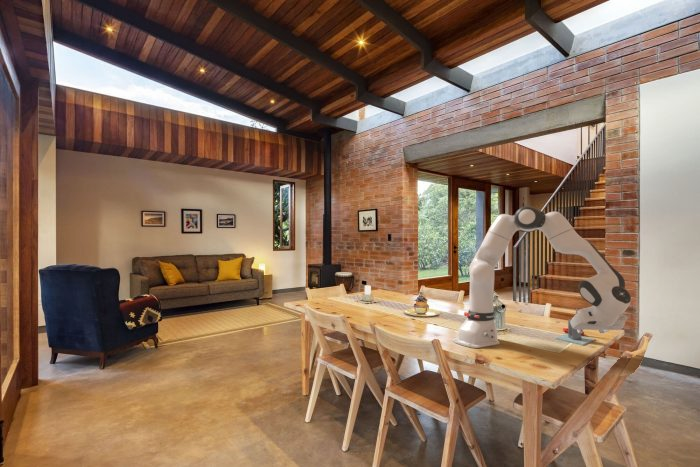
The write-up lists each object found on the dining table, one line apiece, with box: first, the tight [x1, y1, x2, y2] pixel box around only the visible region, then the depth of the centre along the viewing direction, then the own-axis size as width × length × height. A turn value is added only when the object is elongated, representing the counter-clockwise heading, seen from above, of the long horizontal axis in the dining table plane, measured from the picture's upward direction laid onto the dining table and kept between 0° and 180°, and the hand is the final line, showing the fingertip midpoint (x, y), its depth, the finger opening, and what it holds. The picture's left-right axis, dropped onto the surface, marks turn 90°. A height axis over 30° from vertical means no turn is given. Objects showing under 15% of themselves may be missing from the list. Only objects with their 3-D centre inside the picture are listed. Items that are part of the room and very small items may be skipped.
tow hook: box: [562, 308, 585, 335], centre depth 180 cm, size 8×13×9 cm
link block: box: [567, 318, 582, 340], centre depth 168 cm, size 4×4×9 cm
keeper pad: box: [555, 332, 596, 346], centre depth 168 cm, size 13×12×1 cm
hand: (590, 331), depth 156 cm, fingers open, 8 cm apart
